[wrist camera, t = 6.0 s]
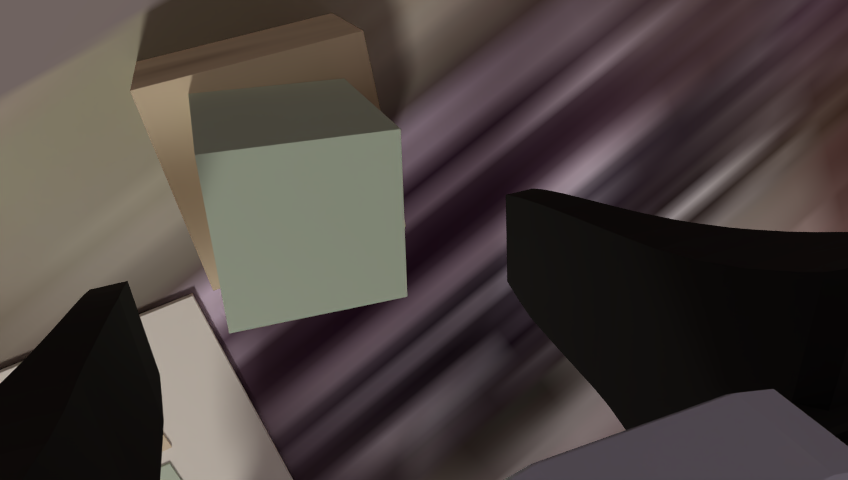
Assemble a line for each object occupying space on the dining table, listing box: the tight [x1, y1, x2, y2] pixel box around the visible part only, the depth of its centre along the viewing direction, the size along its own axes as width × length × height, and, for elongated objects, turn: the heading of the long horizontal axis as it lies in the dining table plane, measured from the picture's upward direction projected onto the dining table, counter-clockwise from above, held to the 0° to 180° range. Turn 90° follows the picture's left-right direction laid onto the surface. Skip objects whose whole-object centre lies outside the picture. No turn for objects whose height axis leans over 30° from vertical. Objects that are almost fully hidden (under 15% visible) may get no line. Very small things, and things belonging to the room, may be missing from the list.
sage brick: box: [188, 78, 407, 333], centre depth 15 cm, size 4×4×5 cm
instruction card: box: [0, 293, 293, 480], centre depth 24 cm, size 12×9×1 cm
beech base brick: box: [130, 13, 406, 291], centre depth 19 cm, size 6×6×4 cm
